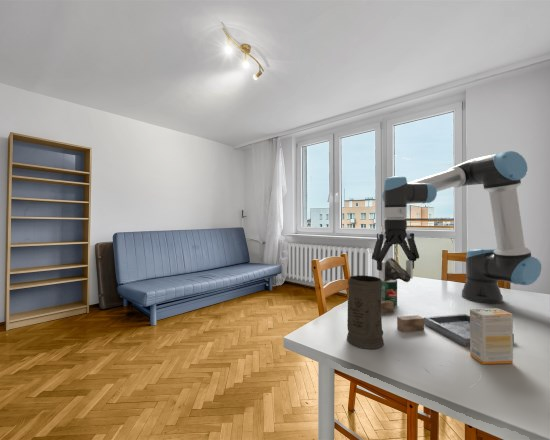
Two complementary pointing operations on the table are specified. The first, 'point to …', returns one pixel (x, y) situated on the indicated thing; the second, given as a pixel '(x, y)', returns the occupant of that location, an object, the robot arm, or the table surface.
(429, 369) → the table surface
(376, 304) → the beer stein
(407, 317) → the cradle
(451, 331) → the dish
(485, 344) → the supplement box
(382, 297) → the canned tomato
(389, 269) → the fossil
